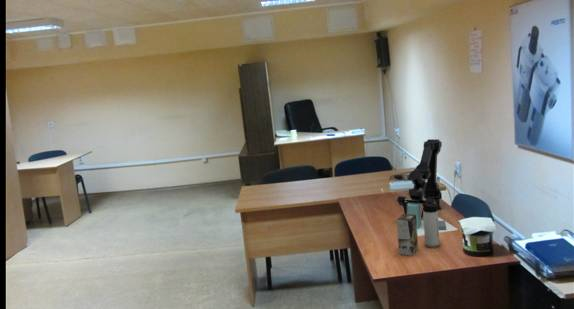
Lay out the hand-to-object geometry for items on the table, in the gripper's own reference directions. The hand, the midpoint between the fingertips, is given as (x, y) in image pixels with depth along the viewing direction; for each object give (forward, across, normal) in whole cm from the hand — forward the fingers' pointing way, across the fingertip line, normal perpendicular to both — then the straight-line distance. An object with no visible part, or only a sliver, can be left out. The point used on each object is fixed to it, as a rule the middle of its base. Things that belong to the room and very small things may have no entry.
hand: (413, 216), depth 232 cm
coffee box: (+24, +6, -14) cm, 28 cm away
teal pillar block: (+3, 0, +5) cm, 6 cm away
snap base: (+1, +10, +7) cm, 13 cm away
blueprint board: (+2, +6, +7) cm, 9 cm away
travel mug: (+17, +14, -7) cm, 23 cm away
